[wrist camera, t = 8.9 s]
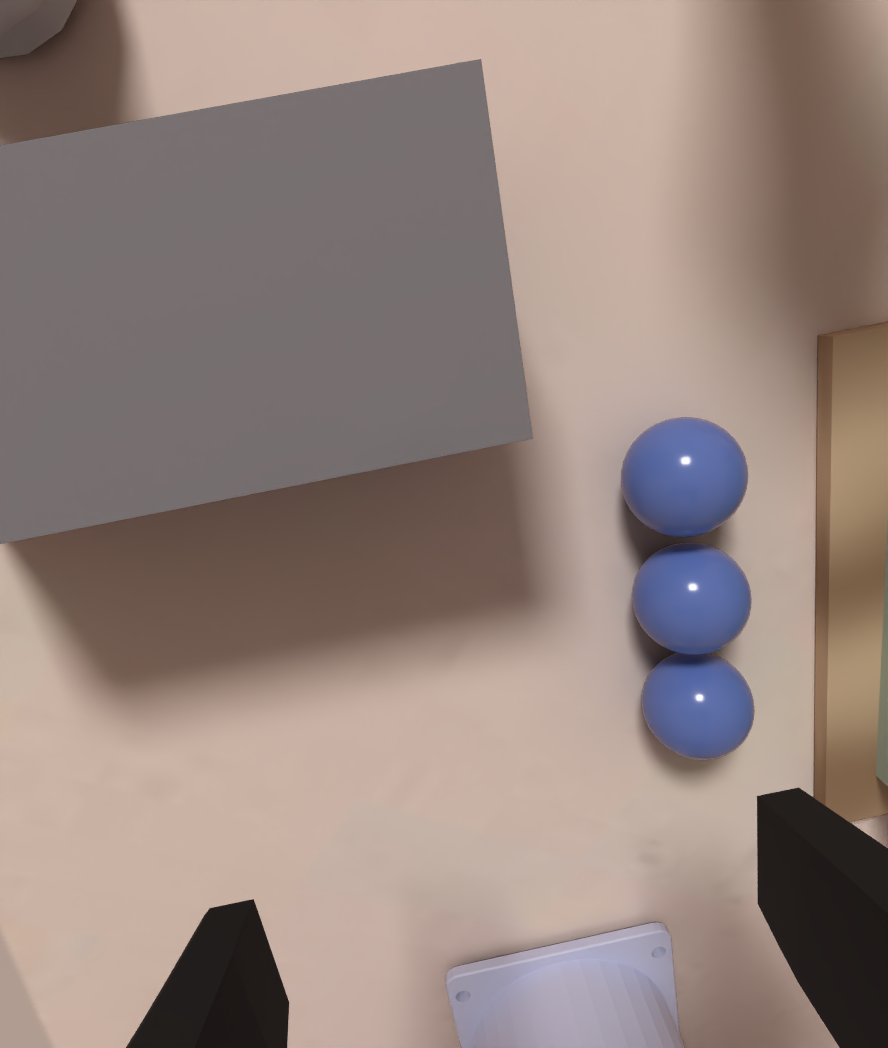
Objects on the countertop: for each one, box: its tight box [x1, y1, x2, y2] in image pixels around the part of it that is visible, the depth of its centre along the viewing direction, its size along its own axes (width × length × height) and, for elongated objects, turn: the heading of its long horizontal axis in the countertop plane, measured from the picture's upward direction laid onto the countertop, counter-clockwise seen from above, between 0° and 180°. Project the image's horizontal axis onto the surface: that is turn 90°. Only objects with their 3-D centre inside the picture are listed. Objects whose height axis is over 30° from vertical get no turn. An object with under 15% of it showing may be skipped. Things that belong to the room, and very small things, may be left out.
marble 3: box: [642, 653, 754, 760], centre depth 19 cm, size 3×3×3 cm
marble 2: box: [632, 542, 751, 655], centre depth 18 cm, size 3×3×3 cm
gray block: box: [0, 59, 533, 544], centre depth 13 cm, size 13×6×6 cm, turn 100°
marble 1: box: [621, 417, 748, 537], centre depth 17 cm, size 3×3×3 cm
